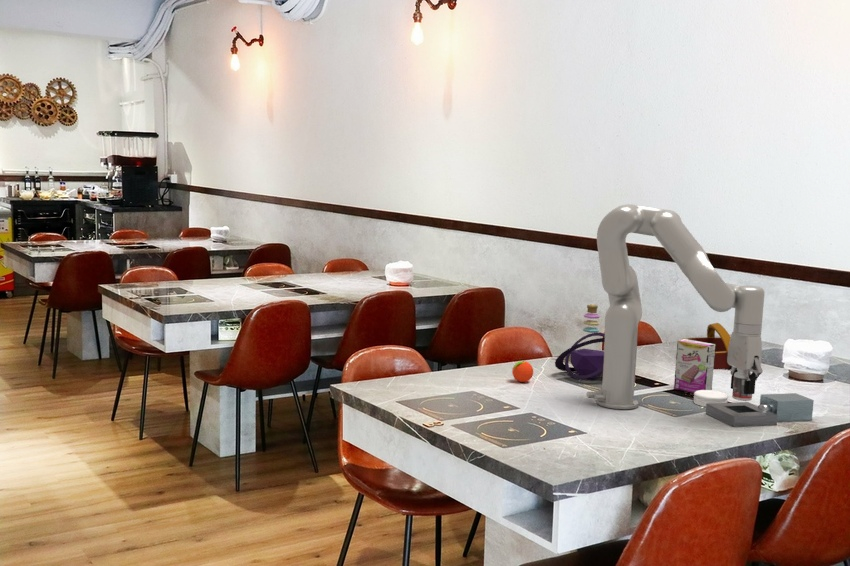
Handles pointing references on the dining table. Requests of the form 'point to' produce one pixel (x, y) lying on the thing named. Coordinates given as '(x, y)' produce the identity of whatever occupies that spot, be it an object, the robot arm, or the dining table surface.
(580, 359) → the decorative bottle
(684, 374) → the candy bar box
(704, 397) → the white round disc
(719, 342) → the decorative basket
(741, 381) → the pill bottle
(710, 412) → the grey tray with housing
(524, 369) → the clementine
